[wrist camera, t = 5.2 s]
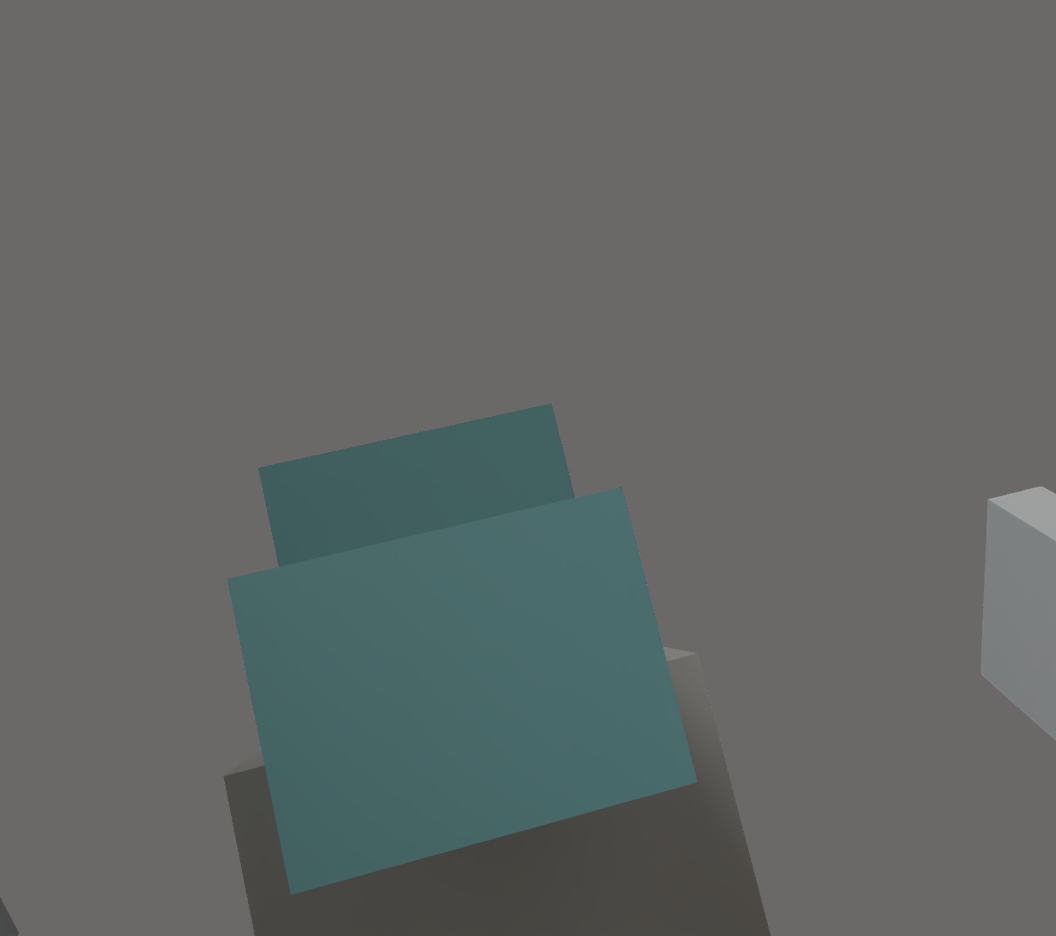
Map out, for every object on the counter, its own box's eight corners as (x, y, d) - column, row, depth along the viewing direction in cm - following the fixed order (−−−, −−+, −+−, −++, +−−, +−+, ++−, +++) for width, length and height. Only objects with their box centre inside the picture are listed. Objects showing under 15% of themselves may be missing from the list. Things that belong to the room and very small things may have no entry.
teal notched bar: (697, 781, 9) (598, 393, 10) (291, 895, 9) (206, 479, 9) (508, 652, 35) (483, 547, 35) (402, 678, 34) (379, 572, 35)
